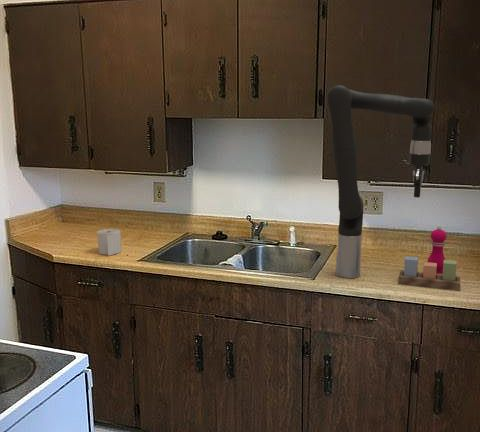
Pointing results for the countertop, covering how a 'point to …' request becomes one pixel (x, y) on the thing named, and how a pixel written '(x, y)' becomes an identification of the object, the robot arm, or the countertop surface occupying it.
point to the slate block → (410, 266)
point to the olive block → (449, 270)
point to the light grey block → (109, 241)
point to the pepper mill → (437, 249)
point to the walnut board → (429, 281)
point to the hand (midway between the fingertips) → (416, 197)
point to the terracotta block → (429, 270)
